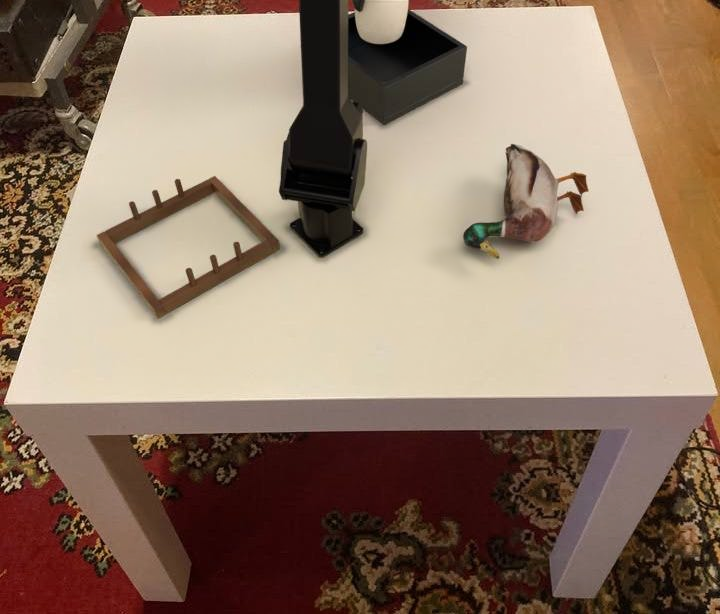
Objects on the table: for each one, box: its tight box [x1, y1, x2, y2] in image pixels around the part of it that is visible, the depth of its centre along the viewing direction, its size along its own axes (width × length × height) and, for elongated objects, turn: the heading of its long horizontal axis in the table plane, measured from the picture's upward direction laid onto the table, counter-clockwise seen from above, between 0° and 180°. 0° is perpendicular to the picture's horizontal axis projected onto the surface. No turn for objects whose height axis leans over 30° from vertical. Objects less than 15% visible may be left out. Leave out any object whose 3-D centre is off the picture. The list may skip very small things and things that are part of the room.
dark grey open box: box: [348, 8, 468, 126], centre depth 101 cm, size 17×15×6 cm
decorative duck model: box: [462, 143, 590, 260], centre depth 83 cm, size 15×8×15 cm
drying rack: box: [96, 175, 281, 319], centre depth 82 cm, size 14×16×4 cm
